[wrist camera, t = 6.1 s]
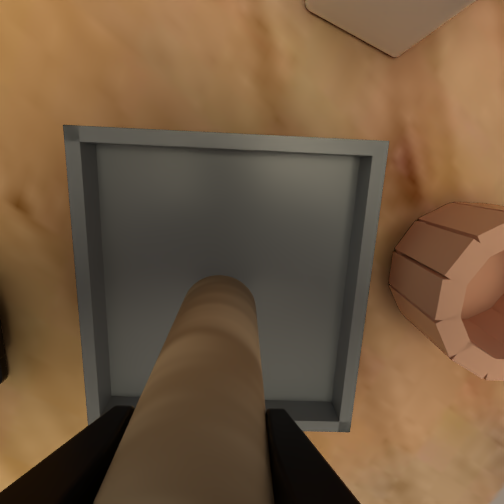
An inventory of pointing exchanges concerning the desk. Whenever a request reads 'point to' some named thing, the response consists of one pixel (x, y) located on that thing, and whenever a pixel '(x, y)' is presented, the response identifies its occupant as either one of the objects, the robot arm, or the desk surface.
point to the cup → (456, 283)
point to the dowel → (199, 410)
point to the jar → (388, 19)
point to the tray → (225, 254)
